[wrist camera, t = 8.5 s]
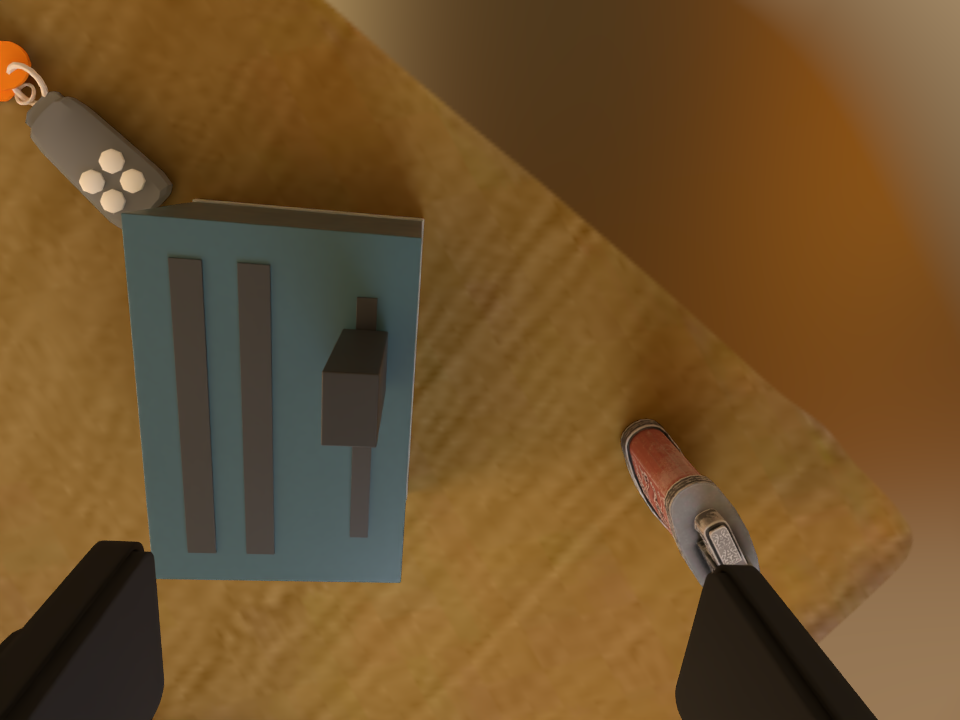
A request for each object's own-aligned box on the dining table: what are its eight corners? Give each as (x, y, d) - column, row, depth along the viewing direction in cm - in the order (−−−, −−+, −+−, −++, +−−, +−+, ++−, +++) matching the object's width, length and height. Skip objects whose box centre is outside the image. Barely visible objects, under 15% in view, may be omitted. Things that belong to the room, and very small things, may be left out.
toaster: (424, 218, 30) (424, 235, 23) (407, 495, 35) (402, 586, 28) (196, 198, 29) (115, 209, 21) (211, 488, 34) (149, 582, 26)
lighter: (708, 509, 38) (804, 624, 28) (660, 533, 38) (740, 656, 28) (659, 408, 35) (747, 498, 26) (608, 435, 35) (677, 534, 26)
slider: (388, 331, 24) (379, 374, 19) (385, 391, 24) (376, 448, 20) (342, 328, 23) (321, 371, 19) (341, 389, 24) (320, 445, 19)
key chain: (185, 182, 29) (173, 183, 27) (134, 234, 29) (120, 237, 28) (-60, -57, 25) (-88, -71, 24) (-113, 7, 26) (-144, -3, 24)
